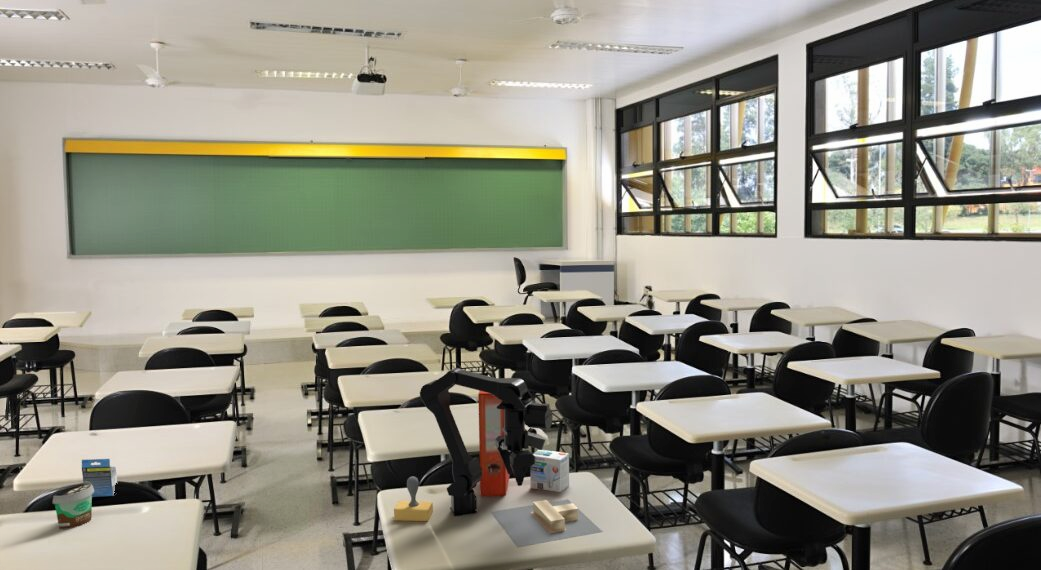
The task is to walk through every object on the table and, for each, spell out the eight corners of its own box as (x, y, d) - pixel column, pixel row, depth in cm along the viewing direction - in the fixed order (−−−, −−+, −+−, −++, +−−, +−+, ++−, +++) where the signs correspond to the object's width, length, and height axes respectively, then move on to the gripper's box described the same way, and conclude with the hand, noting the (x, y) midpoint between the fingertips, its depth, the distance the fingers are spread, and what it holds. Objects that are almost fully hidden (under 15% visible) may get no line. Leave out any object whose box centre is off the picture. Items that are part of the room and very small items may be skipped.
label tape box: (118, 491, 240) (115, 454, 239) (112, 496, 236) (109, 458, 235) (90, 493, 240) (86, 455, 238) (83, 498, 236) (80, 459, 234)
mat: (517, 548, 194) (517, 546, 194) (490, 513, 216) (490, 511, 216) (602, 533, 202) (602, 531, 202) (567, 500, 224) (567, 499, 224)
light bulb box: (529, 488, 235) (529, 454, 233) (539, 481, 241) (538, 448, 239) (561, 494, 230) (560, 459, 228) (570, 486, 236) (569, 452, 234)
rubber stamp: (433, 513, 217) (431, 473, 216) (428, 522, 212) (426, 480, 210) (399, 512, 219) (398, 472, 217) (394, 521, 213) (392, 480, 212)
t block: (551, 531, 202) (550, 521, 202) (533, 512, 215) (533, 502, 215) (585, 525, 205) (585, 515, 205) (565, 506, 218) (565, 496, 218)
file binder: (510, 476, 246) (508, 379, 242) (506, 496, 229) (504, 393, 225) (485, 476, 246) (483, 379, 243) (480, 496, 229) (477, 393, 226)
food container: (74, 532, 210) (70, 497, 209) (55, 530, 212) (51, 496, 211) (106, 514, 222) (103, 481, 221) (88, 513, 224) (85, 480, 223)
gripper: (553, 432, 202) (553, 488, 204) (531, 413, 220) (531, 465, 222) (513, 436, 199) (514, 493, 201) (494, 416, 216) (495, 469, 218)
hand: (514, 479), depth 210 cm, fingers open, 9 cm apart
